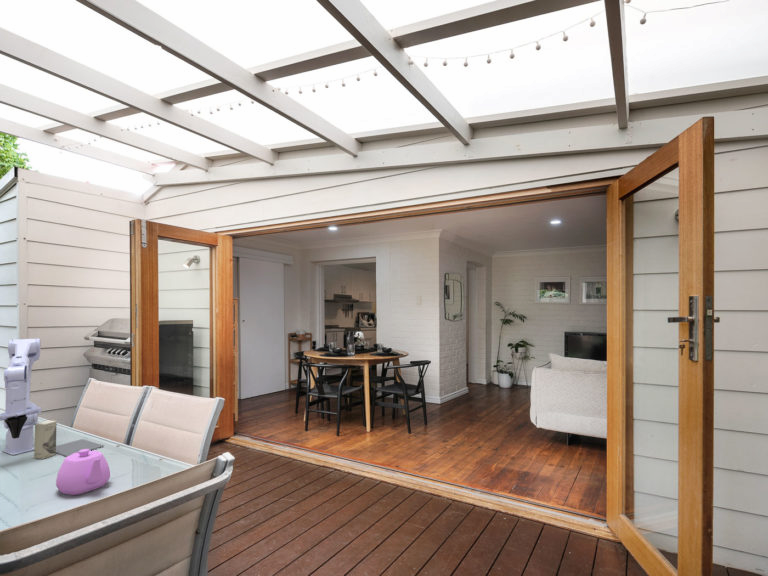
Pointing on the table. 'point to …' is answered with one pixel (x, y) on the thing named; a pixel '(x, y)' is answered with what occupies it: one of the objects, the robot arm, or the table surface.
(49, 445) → the box
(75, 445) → the mat
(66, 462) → the teapot
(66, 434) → the table surface
